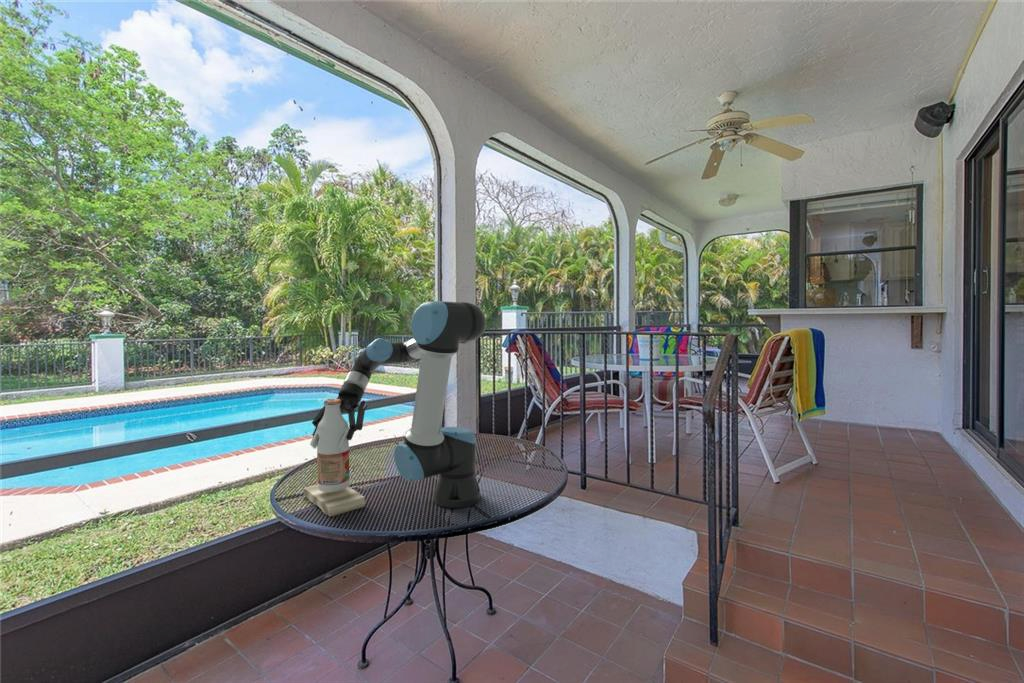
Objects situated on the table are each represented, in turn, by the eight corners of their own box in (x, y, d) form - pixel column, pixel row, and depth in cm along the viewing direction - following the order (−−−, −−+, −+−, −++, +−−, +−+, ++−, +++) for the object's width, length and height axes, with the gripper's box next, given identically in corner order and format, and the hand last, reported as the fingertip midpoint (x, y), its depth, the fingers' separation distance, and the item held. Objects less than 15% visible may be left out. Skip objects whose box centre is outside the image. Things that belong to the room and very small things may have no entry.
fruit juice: (313, 486, 142) (311, 399, 141) (342, 479, 149) (341, 396, 147) (324, 495, 136) (323, 404, 134) (354, 487, 142) (353, 400, 140)
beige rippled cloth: (364, 506, 139) (364, 496, 139) (329, 517, 131) (329, 507, 131) (337, 488, 153) (337, 479, 153) (304, 497, 146) (303, 488, 145)
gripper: (386, 395, 154) (364, 455, 139) (329, 393, 157) (301, 450, 143) (379, 382, 148) (355, 443, 133) (319, 380, 152) (289, 439, 137)
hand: (327, 447), depth 138 cm, fingers closed on fruit juice, 9 cm apart
